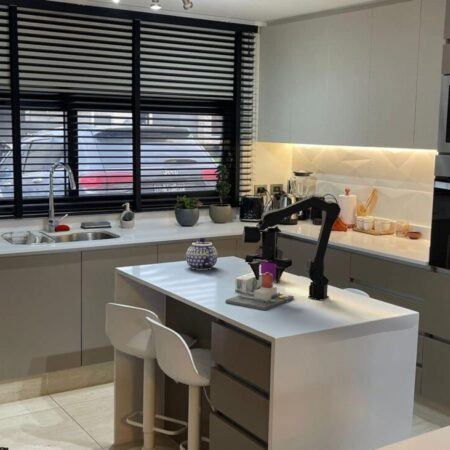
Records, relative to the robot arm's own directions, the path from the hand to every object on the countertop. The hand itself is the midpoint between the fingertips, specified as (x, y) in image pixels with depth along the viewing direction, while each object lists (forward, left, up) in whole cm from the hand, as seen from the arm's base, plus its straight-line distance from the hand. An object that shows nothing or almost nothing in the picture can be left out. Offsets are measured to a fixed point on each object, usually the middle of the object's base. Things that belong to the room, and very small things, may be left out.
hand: (267, 281), depth 281 cm
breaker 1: (-2, +7, -6) cm, 9 cm away
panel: (0, +6, -7) cm, 9 cm away
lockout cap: (0, 0, -2) cm, 2 cm away
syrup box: (+15, -16, -4) cm, 22 cm away
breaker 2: (0, 0, -6) cm, 6 cm away
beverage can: (+18, -31, -7) cm, 37 cm away
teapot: (+55, -30, -7) cm, 63 cm away
